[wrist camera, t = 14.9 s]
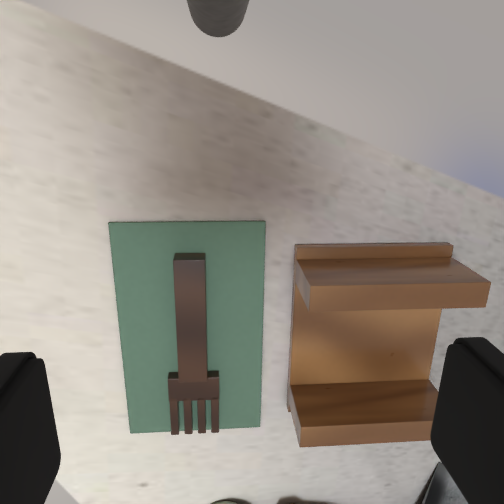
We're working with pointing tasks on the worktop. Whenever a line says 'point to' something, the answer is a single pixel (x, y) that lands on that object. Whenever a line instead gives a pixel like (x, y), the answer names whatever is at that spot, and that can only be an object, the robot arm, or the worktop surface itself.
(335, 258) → the rack
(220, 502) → the soupspoon
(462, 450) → the robot arm
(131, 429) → the mat
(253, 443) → the worktop surface
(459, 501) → the meat cleaver
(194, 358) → the fork
